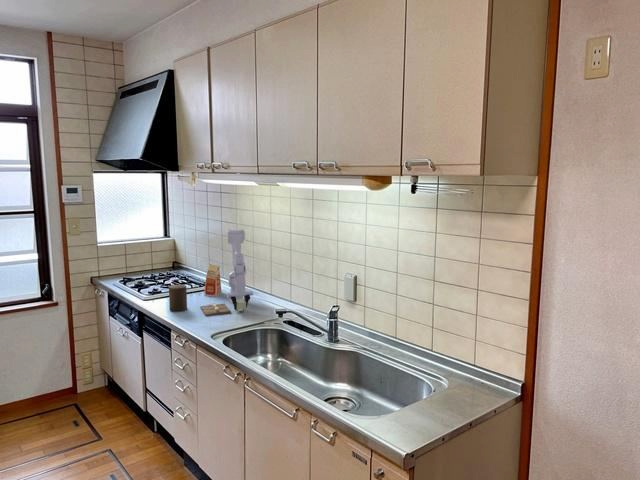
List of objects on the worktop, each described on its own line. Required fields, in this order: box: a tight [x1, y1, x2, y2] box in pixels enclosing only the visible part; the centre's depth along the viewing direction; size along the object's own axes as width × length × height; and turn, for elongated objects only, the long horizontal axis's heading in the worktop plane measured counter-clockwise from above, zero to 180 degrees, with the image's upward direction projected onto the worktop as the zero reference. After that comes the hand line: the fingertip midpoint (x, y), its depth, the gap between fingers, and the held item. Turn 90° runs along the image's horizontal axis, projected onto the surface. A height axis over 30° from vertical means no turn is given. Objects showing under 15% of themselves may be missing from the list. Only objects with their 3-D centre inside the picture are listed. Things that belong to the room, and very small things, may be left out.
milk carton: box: [204, 263, 222, 297], centre depth 308 cm, size 9×9×20 cm
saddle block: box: [234, 298, 247, 314], centre depth 274 cm, size 6×5×6 cm
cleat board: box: [200, 302, 232, 317], centre depth 275 cm, size 16×14×3 cm
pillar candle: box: [168, 284, 188, 313], centre depth 276 cm, size 10×10×15 cm
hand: (240, 308), depth 274 cm, fingers open, 5 cm apart
